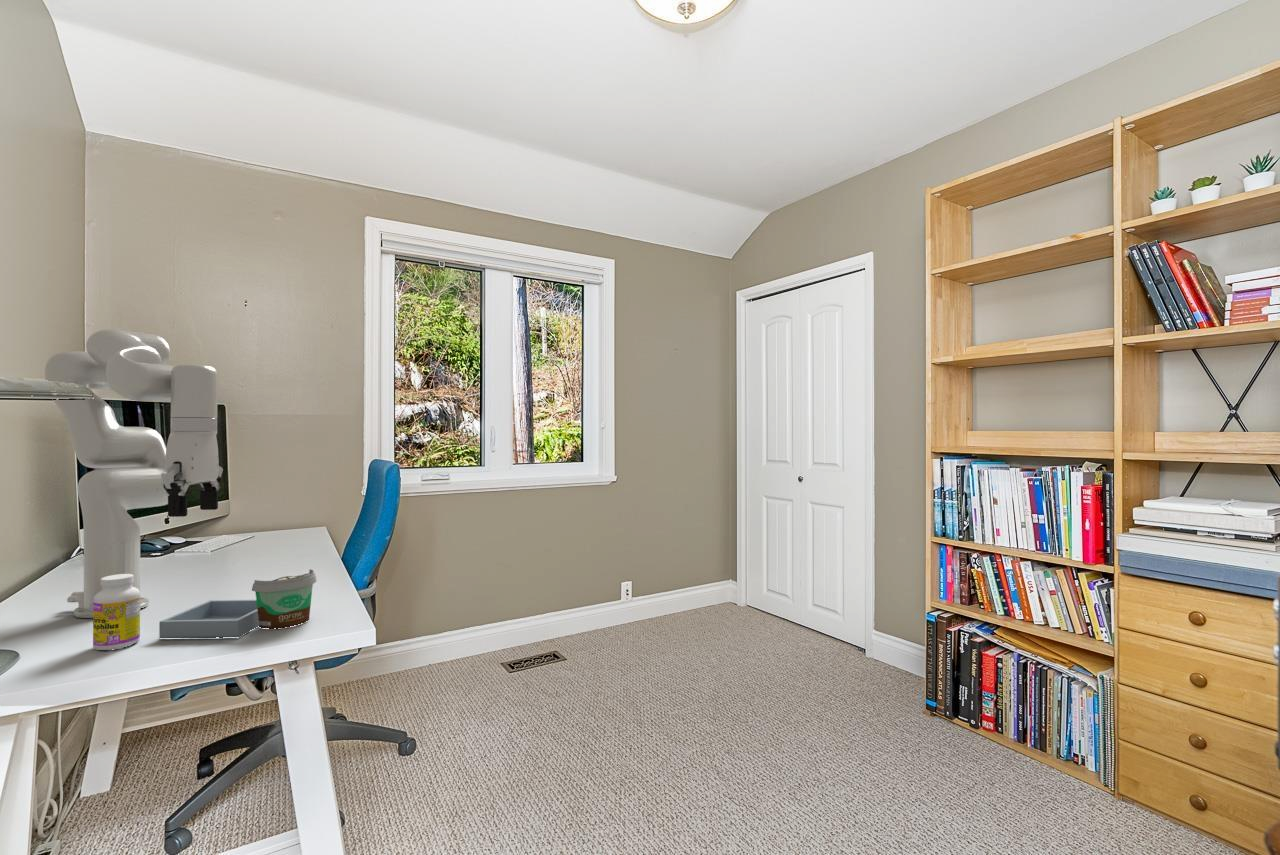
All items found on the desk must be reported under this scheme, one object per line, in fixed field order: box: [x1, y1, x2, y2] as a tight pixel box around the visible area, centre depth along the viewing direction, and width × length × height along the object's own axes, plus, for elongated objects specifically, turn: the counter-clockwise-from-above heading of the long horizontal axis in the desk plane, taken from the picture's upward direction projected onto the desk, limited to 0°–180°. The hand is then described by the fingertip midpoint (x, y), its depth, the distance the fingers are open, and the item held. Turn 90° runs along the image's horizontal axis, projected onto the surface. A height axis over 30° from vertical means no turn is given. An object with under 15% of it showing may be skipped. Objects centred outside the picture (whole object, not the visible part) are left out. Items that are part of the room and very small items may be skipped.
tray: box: [158, 599, 259, 638], centre depth 124 cm, size 15×15×4 cm
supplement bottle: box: [92, 574, 141, 651], centre depth 113 cm, size 7×7×13 cm
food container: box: [251, 568, 317, 630], centre depth 126 cm, size 12×6×10 cm, turn 148°
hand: (193, 512), depth 121 cm, fingers open, 9 cm apart
